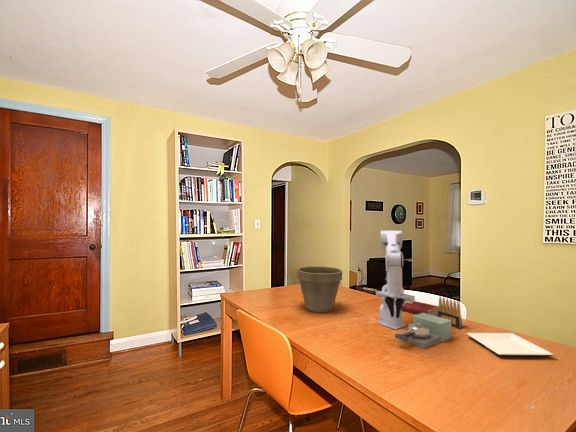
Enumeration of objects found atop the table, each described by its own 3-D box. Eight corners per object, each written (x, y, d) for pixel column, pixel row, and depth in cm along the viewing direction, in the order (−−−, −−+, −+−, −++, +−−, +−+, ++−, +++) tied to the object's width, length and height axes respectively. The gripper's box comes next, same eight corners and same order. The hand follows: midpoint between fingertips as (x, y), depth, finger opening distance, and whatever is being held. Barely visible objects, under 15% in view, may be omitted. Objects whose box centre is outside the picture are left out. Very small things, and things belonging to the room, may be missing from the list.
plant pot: (349, 306, 158) (348, 268, 159) (331, 319, 137) (331, 274, 138) (310, 300, 172) (310, 264, 172) (288, 310, 151) (288, 270, 152)
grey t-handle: (415, 329, 117) (415, 318, 117) (434, 335, 111) (433, 324, 111) (391, 338, 108) (390, 326, 108) (409, 345, 102) (409, 333, 102)
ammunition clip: (462, 328, 124) (461, 301, 125) (459, 328, 124) (458, 301, 124) (440, 320, 134) (439, 295, 134) (437, 321, 133) (437, 296, 134)
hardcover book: (429, 319, 138) (429, 310, 138) (390, 309, 154) (390, 301, 154) (440, 314, 145) (440, 306, 145) (402, 305, 162) (402, 297, 162)
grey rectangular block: (397, 338, 114) (396, 321, 114) (423, 328, 124) (423, 312, 124) (425, 349, 104) (425, 330, 104) (451, 337, 114) (451, 320, 114)
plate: (465, 337, 114) (465, 332, 115) (512, 337, 114) (512, 332, 114) (498, 359, 96) (498, 353, 96) (554, 360, 95) (554, 354, 95)
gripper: (373, 282, 113) (373, 316, 113) (411, 286, 104) (412, 323, 104) (379, 279, 119) (379, 311, 118) (415, 283, 110) (416, 318, 110)
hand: (395, 316), depth 112 cm, fingers closed
